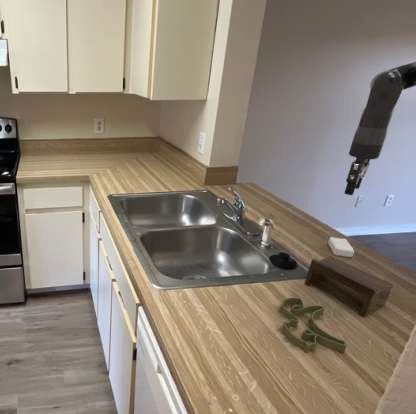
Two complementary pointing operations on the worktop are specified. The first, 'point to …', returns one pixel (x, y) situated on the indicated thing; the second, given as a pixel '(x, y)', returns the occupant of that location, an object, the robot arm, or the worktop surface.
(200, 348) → the worktop surface
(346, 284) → the dark wooden riser
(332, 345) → the cookie cutter
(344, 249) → the soap
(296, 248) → the worktop surface
